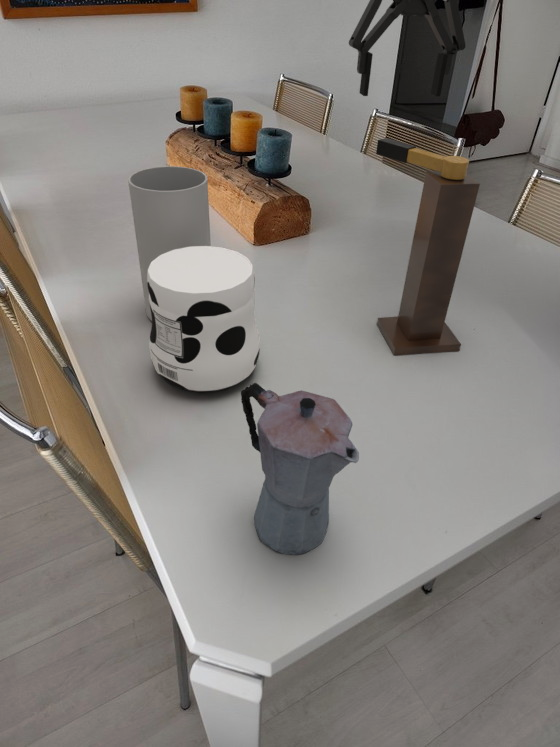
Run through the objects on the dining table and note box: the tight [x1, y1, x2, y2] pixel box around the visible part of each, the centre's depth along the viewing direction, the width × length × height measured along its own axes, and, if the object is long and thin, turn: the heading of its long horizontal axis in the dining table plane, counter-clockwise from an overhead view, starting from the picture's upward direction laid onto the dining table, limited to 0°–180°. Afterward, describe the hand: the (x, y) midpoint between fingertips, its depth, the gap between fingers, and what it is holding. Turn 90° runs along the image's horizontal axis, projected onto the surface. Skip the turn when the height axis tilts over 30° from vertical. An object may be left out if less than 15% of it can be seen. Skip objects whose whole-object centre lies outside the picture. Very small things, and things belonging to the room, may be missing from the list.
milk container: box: [147, 245, 261, 393], centre depth 83 cm, size 17×17×18 cm
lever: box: [375, 137, 470, 180], centre depth 84 cm, size 4×16×2 cm, turn 42°
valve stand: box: [376, 170, 481, 356], centre depth 90 cm, size 12×10×29 cm
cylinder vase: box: [127, 165, 212, 322], centre depth 95 cm, size 12×12×25 cm
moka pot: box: [240, 382, 360, 556], centre depth 59 cm, size 10×15×20 cm, turn 53°
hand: (399, 95), depth 98 cm, fingers open, 13 cm apart
